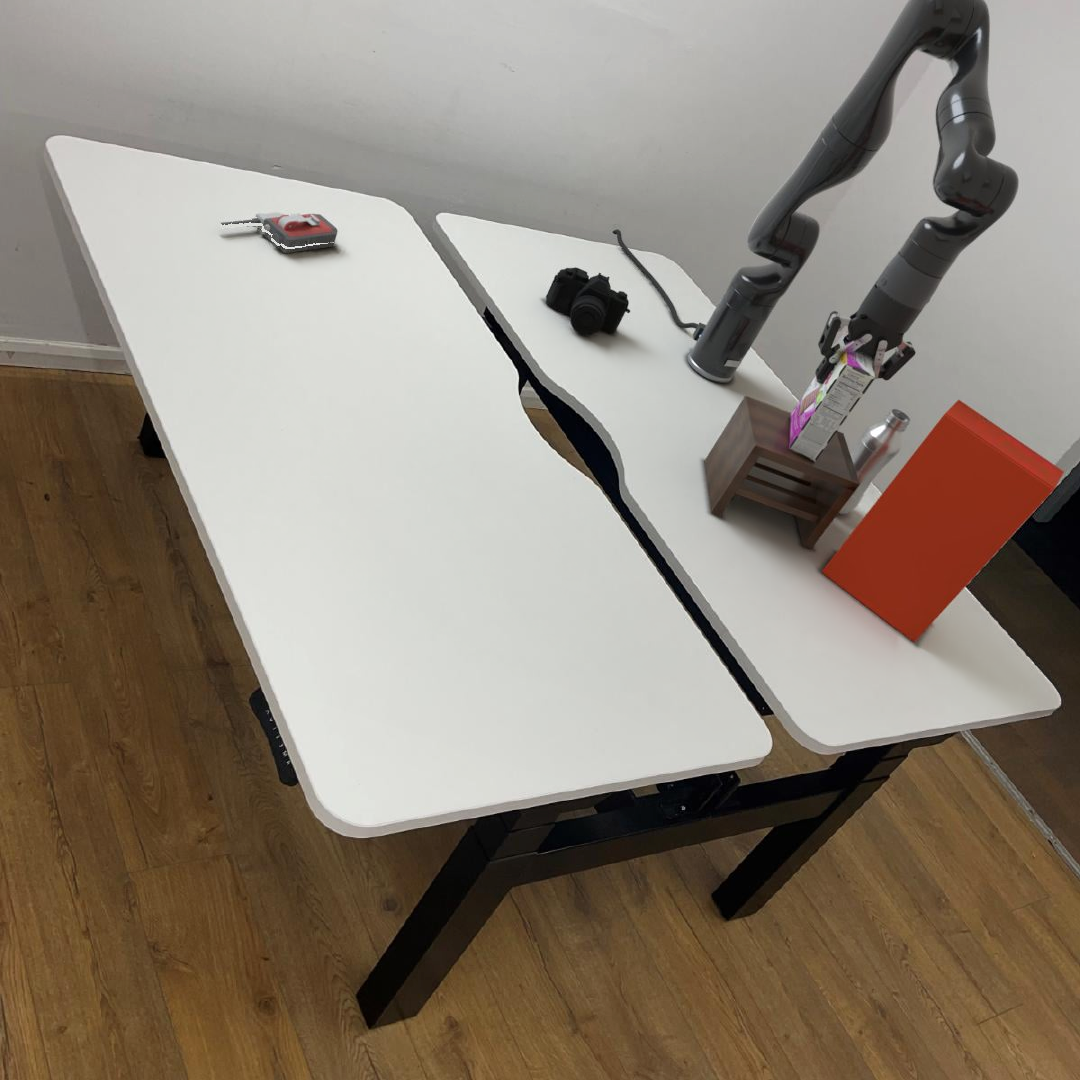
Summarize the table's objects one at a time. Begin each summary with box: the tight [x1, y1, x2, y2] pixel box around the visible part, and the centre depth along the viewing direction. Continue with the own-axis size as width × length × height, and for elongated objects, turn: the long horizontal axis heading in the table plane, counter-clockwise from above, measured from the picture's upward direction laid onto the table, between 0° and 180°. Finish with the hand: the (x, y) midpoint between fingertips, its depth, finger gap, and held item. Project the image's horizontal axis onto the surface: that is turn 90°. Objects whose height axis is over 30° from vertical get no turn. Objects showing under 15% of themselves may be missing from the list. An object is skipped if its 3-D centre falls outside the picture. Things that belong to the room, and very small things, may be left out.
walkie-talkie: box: [220, 211, 339, 254], centre depth 173 cm, size 9×4×20 cm
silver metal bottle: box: [838, 408, 912, 515], centre depth 174 cm, size 6×7×20 cm
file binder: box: [821, 399, 1065, 643], centre depth 155 cm, size 8×17×32 cm, turn 55°
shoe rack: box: [703, 395, 860, 549], centre depth 167 cm, size 14×18×14 cm
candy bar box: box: [789, 331, 875, 461], centre depth 158 cm, size 11×5×16 cm, turn 169°
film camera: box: [545, 267, 631, 336], centre depth 191 cm, size 15×10×9 cm, turn 81°
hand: (836, 387), depth 157 cm, fingers closed on candy bar box, 5 cm apart
